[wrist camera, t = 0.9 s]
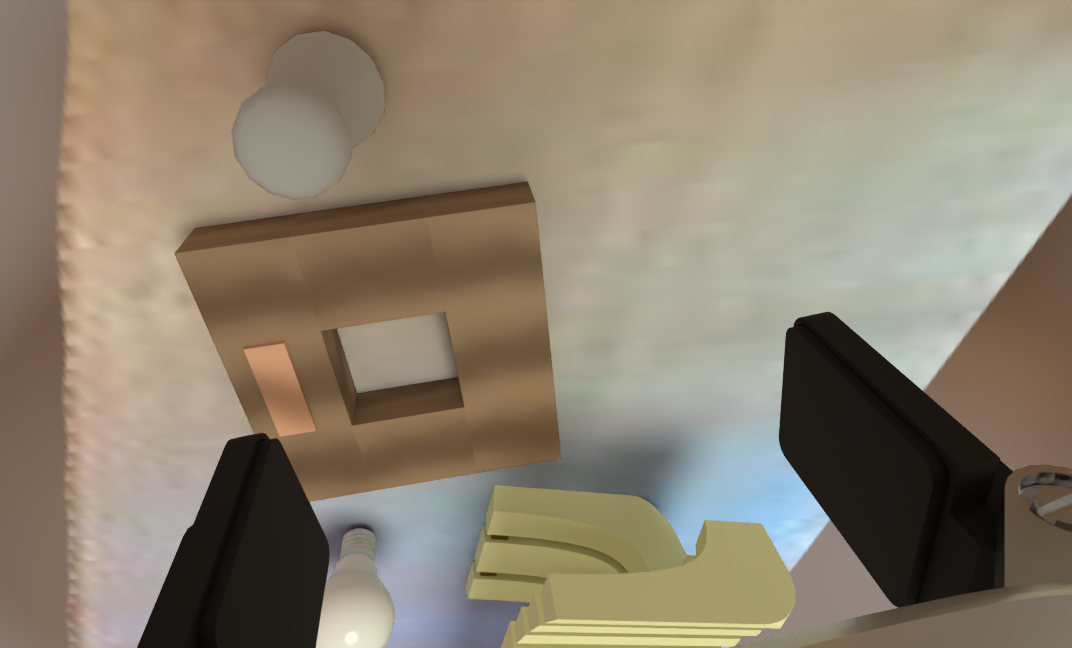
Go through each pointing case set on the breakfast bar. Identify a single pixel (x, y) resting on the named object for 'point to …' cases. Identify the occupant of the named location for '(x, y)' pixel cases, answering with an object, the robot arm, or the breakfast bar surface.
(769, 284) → the breakfast bar surface
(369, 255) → the socket block
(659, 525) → the slatted curved stool
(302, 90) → the salt shaker
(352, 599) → the lightbulb
